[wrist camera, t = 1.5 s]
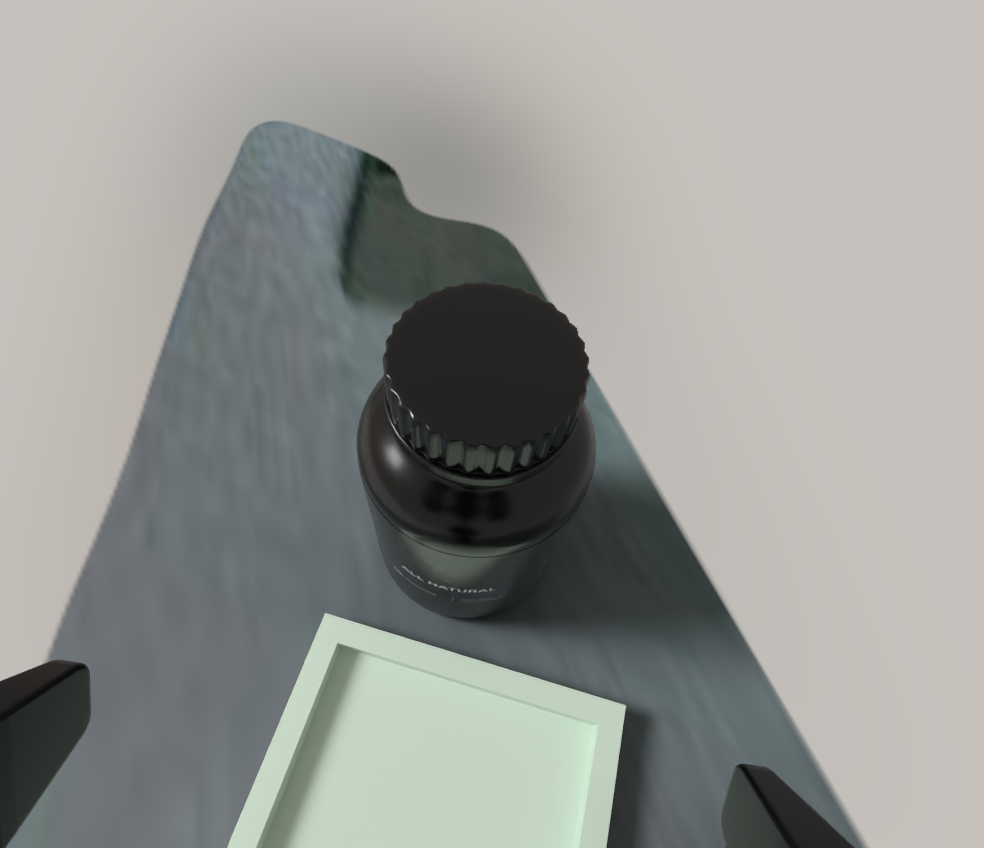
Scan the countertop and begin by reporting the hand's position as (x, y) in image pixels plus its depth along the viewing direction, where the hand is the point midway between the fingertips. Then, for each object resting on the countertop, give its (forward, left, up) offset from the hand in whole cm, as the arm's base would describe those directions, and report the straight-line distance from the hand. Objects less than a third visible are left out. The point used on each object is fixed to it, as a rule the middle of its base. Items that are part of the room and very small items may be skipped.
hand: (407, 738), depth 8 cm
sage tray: (-2, 0, -13) cm, 14 cm away
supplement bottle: (+8, +1, -14) cm, 16 cm away
